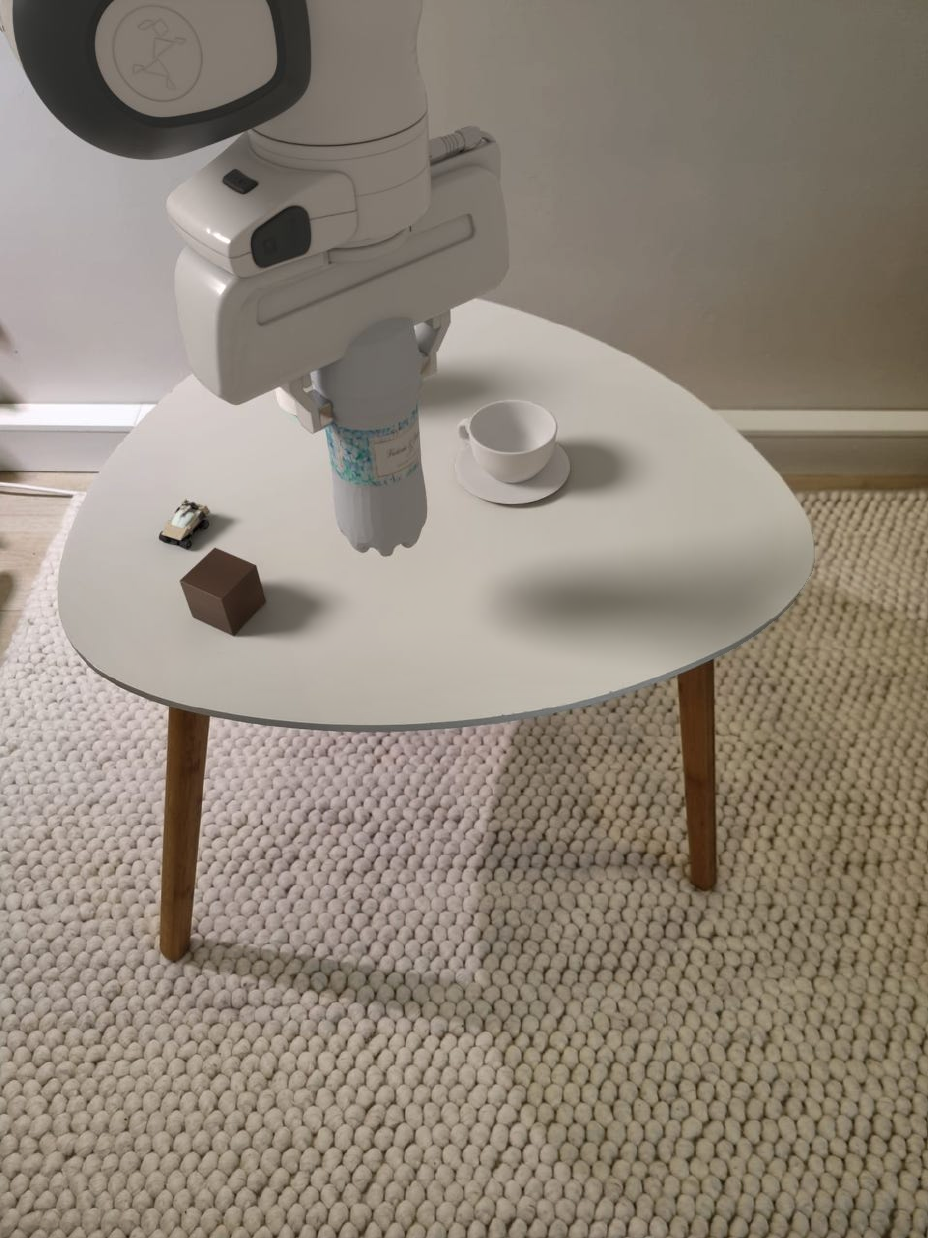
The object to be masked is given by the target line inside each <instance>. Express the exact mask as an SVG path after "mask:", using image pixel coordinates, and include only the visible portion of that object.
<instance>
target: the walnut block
mask: <svg viewBox="0 0 928 1238" xmlns="http://www.w3.org/2000/svg"><path fill="white" fill-rule="evenodd" d="M179 584H180V586H181V589H182V592H183V595H184V597H185V600H186V603H187V606H188V609H189V611H190V614H191V617H192V618H193V619H196V620H198V621H200V622H202V623H204V624H206V625H209V626H211V627H213V628H215V629H217V630H219V631H221V632H223V633H225V634H228V635H230V636H232V637H234V636H235V635H236V634H237V633H238V632H239V631H240V630H241V629H242V628H243V627H244V626H245V625H246V624H247V623H248V622H249V621H250V620H251V618H253V616H254V615H256V613H257V612H258V611H259V610H260V609H261V608H262V607H263V606H264V605H265V604H266V603H267V598H266V595H265V591H264V588H263V584H262V580H261V577H260V573H259V570H258V566H257V564H256V563H255V564H254V563H252V562H250V561H248V560H245V559H243V558H241V557H239V556H236V555H234V554H231V553H229V552H226V551H225V550H222V549H219V548H218V547H213V548H212V550H210V551H209V552H208V553H207V554H206V555H204V557H203V558H202V559H201V560H200V561H199V562H198V563H197V564H195V565H194V566H193V567H192V568H191V569H190V570H189V571H188V572H187V573H186V574H185V575H183V576H182V577H181V579H180V580H179Z"/></svg>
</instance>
